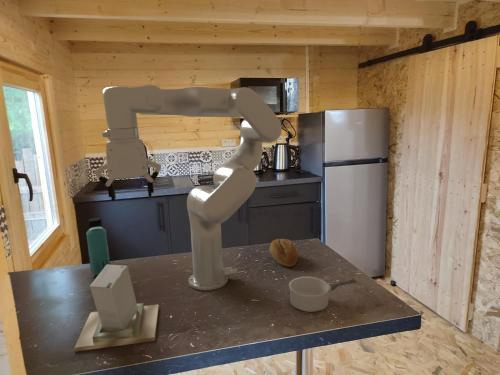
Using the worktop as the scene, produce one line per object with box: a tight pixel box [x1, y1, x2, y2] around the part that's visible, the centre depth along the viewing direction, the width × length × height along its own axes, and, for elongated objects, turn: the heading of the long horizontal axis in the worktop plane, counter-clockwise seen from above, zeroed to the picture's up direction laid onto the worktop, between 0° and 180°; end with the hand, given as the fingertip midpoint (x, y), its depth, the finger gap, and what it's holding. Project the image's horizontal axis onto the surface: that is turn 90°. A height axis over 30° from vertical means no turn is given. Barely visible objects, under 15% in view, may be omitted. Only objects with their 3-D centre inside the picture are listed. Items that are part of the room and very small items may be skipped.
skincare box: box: [89, 264, 138, 331], centre depth 85 cm, size 8×6×15 cm
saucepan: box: [288, 276, 357, 313], centre depth 98 cm, size 12×20×6 cm, turn 103°
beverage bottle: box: [85, 217, 112, 275], centre depth 117 cm, size 6×7×20 cm
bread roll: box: [268, 238, 299, 268], centre depth 126 cm, size 10×15×8 cm, turn 15°
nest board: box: [73, 302, 160, 352], centre depth 88 cm, size 18×15×2 cm
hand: (132, 197), depth 95 cm, fingers open, 9 cm apart
